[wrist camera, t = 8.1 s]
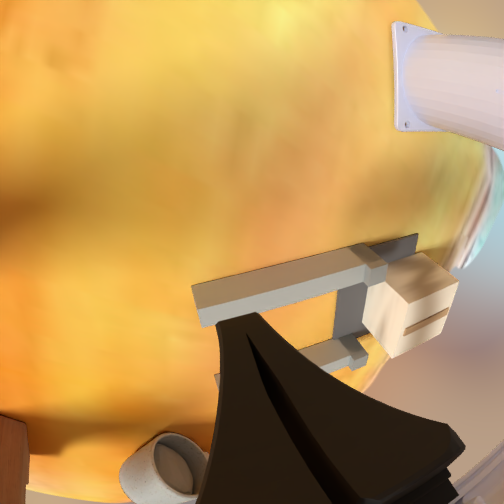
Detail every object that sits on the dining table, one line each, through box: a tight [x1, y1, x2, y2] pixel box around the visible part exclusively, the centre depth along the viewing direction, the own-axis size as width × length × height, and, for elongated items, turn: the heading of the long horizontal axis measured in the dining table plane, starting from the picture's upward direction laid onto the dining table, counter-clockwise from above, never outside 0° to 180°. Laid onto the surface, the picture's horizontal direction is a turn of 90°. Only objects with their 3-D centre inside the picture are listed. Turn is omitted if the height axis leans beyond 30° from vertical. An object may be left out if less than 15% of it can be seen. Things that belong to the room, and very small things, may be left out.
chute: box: [191, 243, 388, 390], centre depth 23 cm, size 13×11×3 cm
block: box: [362, 252, 459, 358], centre depth 25 cm, size 6×6×5 cm
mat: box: [332, 233, 418, 340], centre depth 27 cm, size 8×10×1 cm
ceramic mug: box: [119, 433, 209, 504], centre depth 27 cm, size 11×8×8 cm
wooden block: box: [0, 415, 30, 504], centre depth 15 cm, size 9×4×18 cm, turn 150°
